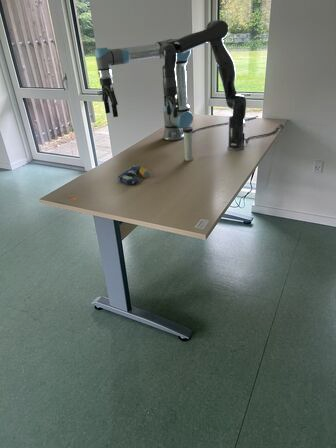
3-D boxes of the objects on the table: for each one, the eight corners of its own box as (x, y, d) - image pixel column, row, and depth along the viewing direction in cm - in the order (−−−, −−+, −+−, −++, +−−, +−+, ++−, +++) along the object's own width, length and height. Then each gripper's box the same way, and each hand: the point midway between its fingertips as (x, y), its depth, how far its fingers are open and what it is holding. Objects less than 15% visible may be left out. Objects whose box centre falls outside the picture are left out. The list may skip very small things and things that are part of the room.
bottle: (183, 160, 208) (182, 129, 198) (187, 157, 211) (186, 127, 201) (190, 161, 205) (189, 130, 196) (194, 158, 209) (193, 128, 199)
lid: (180, 132, 199) (180, 129, 198) (185, 129, 203) (185, 126, 202) (189, 133, 196) (189, 130, 195) (194, 130, 200) (194, 127, 199)
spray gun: (155, 171, 194) (133, 169, 200) (154, 165, 192) (132, 163, 198) (137, 187, 179) (114, 184, 185) (136, 180, 176) (112, 177, 183)
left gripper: (93, 76, 203) (99, 112, 214) (107, 80, 184) (113, 119, 195) (104, 75, 206) (110, 110, 217) (119, 78, 187) (125, 117, 198)
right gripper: (182, 86, 177) (183, 117, 185) (170, 83, 188) (172, 112, 196) (169, 88, 174) (171, 119, 183) (158, 85, 186) (161, 114, 194)
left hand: (111, 114), depth 206 cm, fingers open, 13 cm apart
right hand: (172, 116), depth 189 cm, fingers open, 8 cm apart
